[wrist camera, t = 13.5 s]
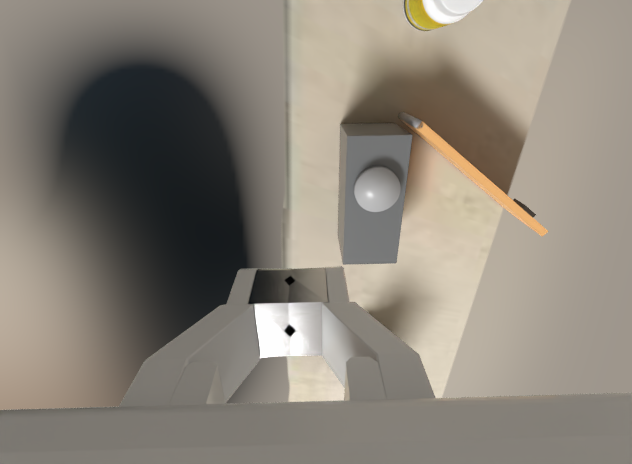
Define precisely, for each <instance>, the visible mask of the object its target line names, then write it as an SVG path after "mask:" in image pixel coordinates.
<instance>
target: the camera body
mask: <svg viewBox="0 0 632 464" xmlns="http://www.w3.org/2000/svg"><path fill="white" fill-rule="evenodd" d="M411 143H412V134H410V133H409V132H407V131H406V130H404V129H403V128H401V127H400V126H398V125H397V124H395V123H357V124H340V162H339V206H338V239H339V244H340V250H341V256H342V262H343V264H386V263H396V262H397V254H398V246H399V238H400V230H401V222H402V214H403V206H404V198H405V190H406V182H407V175H408V167H409V159H410V151H411Z"/></svg>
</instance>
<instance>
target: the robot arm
mask: <svg viewBox="0 0 632 464" xmlns="http://www.w3.org/2000/svg"><path fill="white" fill-rule="evenodd" d="M276 356H323V358H324V360H325V361H326V363H327V364H328V365H329V367H330V368H331V370H332V371H333V372H334V374H335V375H336V377H337V378H338V379H339V381H340V382H341V384H342V385H343V386H344V388H345V393H344V401H309V402H278V403H277V402H275V403H274V402H273V403H238V404H226V402H227V401H228V399H229V398H230V397H231V396H232V394H233V393H234V392H235V391H236V389H237V388H238V387H239V386H240V384H241V383H242V382H243V380H244V379H245V378H246V377H247V375H248V374H249V373H250V372H251V370H252V369H253V368H254V367H255V365H256V364H257V363H258V362H259V360H260V357H276ZM0 464H632V393H607V394H605V393H604V394H568V395H534V396H533V395H532V396H497V397H462V398H435V395H434V393H433V390H432V387H431V385H430V382H429V380H428V377H427V374H426V372H425V369H424V367H423V364H422V361H421V359H420V356H419V354H418V353H417V352H415V351H414V350H413V349H412V348H410V347H409V346H408V345H407V344H406V343H404V342H403V341H402V340H401V339H399V338H398V337H397V336H396V335H395V334H393V333H392V332H391V331H390V330H388V329H387V328H386V327H385V326H383V325H382V324H381V323H380V322H379V321H377V320H376V319H375V318H374V317H372V316H371V315H370V314H369V313H368V312H366V311H365V310H364V309H363V308H361V307H360V306H359V305H358V304H357V303H355V302H349V296H348V291H347V285H346V279H345V274H344V268H343V267H342V266H341V267H325V268H304V269H240V270H239V271H238V273H237V276H236V278H235V281H234V284H233V287H232V290H231V293H230V296H229V299H228V302H227V304H226V305H221V306H219V307H218V308H216V309H215V310H214V311H212V312H211V313H209V314H208V315H207V316H205V317H204V318H203V319H201V320H200V321H199V322H197V323H196V324H195V325H193V326H192V327H190V328H189V329H188V330H186V331H185V332H184V333H182V334H181V335H179V336H178V337H177V338H176V339H174V340H172V341H171V342H170V343H168V344H167V345H166V346H164V347H163V348H161V349H160V350H159V351H157V352H156V353H155V354H154V355H152V356H150V357H149V358H148V359H146V360H145V361H144V363H143V365H142V367H141V368H140V370H139V372H138V374H137V375H136V377H135V379H134V381H133V382H132V384H131V386H130V388H129V390H128V391H127V393H126V395H125V397H124V399H123V400H122V402H121V404H120V405H119V407H92V408H55V409H20V410H19V409H18V410H0Z"/></svg>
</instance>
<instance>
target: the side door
mask: <svg viewBox="0 0 632 464" xmlns="http://www.w3.org/2000/svg"><path fill="white" fill-rule="evenodd" d="M398 117H399V119H400V120H401V121H403V122H404V123H405V124H406V125H407V126H408V127H410V128H411V129H412V130H413V131H414V132H416V133H417V134H418V135H419V136H420V137H421V138H423V139H424V140H425V141H426V142H427V143H428V144H430V145H431V146H432V147H433V148H434V149H436V150H437V151H438V152H439V153H440V154H441V155H443V156H444V157H445V158H446V159H447V160H448V161H450V162H451V163H452V164H453V165H454V166H456V167H457V168H458V169H459V170H460V171H461V172H463V173H464V174H465V175H466V176H467V177H468V178H470V179H471V180H472V181H473V182H474V183H475V184H477V185H478V186H479V187H480V188H481V189H483V190H484V191H485V192H486V193H487V194H488V195H490V196H491V197H492V198H493V199H494V200H495V201H497V202H498V203H499V204H500V205H501V206H503V207H504V208H505V209H506V210H507V211H508V212H510V213H511V214H512V215H513V216H515V217H516V218H517V219H519V220H520V221H522V222H523V223H524V224H526V225H527V226H528V227H530V228H531V229H533V230H534V231H535V232H537V233H538V234H539V235H541V236H544V235H545V234H546V233H547V232H548V231H547V230H546V229H545V228H544V227H543V226H542V225H541V224H539V223H538V222H537V221H536V220H535V219H533V217H534V216H535V215H536V214H534V213H533V212H532V211H531V210H530V209H529V208H528V207H526V206H525V205H524V204H522V203H521V202H519V201H518V200H516V199H514V200H512V199H511V198H510V197H508V196H507V195H506V194H505V193H504V192H503V191H502V190H500V189H499V188H498V187H497V186H496V185H495V184H494V183H492V182H491V181H490V180H489V179H488V178H487V177H486V176H484V175H483V174H482V173H481V172H480V171H479V170H478V169H476V168H475V167H474V166H473V165H472V164H471V163H470V162H468V161H467V160H466V159H465V158H464V157H463V156H461V155H460V154H459V153H458V152H457V151H456V150H455V149H453V148H452V147H451V146H450V145H449V144H448V143H447V142H445V141H444V140H443V139H442V138H441V137H440V136H439V135H437V134H436V133H435V132H434V131H433V130H432V129H431V128H429V127H428V126H427V125H426V124H425V123H424V122H423V121H421V120H419V119H417V118H415V117H413V116H411V115H409V114H407V113H405V112H400V113H399V115H398Z"/></svg>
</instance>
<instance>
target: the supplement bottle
mask: <svg viewBox="0 0 632 464" xmlns="http://www.w3.org/2000/svg"><path fill="white" fill-rule="evenodd" d="M482 2H483V0H403V12H404V16H405V18H406V20H407V22H408V23H409V24H410V26H412V27H413V28H415V29H417V30H420V31H430V30H433V29H436V28H439V27H443V26H446V25H449V24H452V23H455V22H457V21H459V20H461V19H462V18H464V17H465V16H466V15H468V14H469V13H470V11H472V10H474V9H475V8H476V7H478V6H479V5H480V4H481V3H482Z"/></svg>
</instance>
